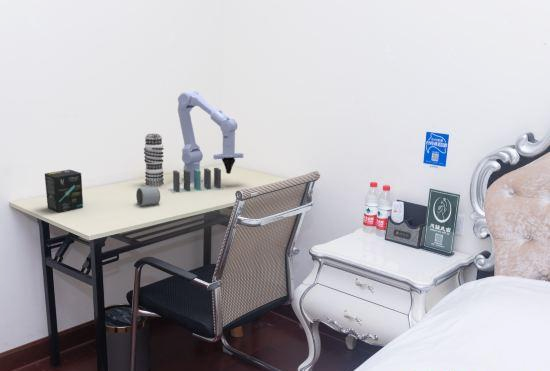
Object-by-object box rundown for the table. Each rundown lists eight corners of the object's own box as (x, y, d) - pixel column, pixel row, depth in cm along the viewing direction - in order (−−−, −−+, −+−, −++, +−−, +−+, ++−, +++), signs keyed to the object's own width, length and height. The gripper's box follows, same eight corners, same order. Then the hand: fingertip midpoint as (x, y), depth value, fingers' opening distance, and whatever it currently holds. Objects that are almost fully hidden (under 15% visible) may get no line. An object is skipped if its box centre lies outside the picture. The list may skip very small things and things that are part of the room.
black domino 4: (217, 188, 248) (217, 170, 246) (214, 186, 253) (214, 167, 250) (220, 188, 249) (220, 169, 247) (217, 185, 253) (217, 167, 251)
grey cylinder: (161, 205, 219) (161, 187, 218) (143, 208, 215) (142, 189, 213) (151, 199, 228) (150, 182, 226) (133, 202, 223) (132, 184, 221)
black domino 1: (176, 192, 240) (176, 172, 237) (173, 189, 244) (173, 170, 242) (179, 191, 240) (179, 172, 238) (176, 189, 245) (176, 170, 242)
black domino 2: (186, 191, 242) (186, 172, 240) (183, 188, 246) (183, 169, 244) (190, 190, 242) (190, 171, 240) (187, 188, 247) (186, 169, 245)
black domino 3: (207, 189, 246) (207, 170, 244) (204, 186, 250) (204, 168, 248) (210, 189, 247) (210, 170, 245) (207, 186, 251) (207, 168, 249)
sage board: (167, 189, 244) (167, 189, 244) (220, 185, 256) (220, 184, 256) (172, 194, 237) (172, 193, 237) (226, 189, 249) (226, 188, 249)
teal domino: (197, 190, 244) (197, 171, 242) (194, 187, 248) (193, 169, 246) (200, 189, 245) (200, 171, 242) (197, 187, 249) (197, 169, 247)
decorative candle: (166, 184, 255) (166, 133, 249) (161, 189, 246) (159, 136, 240) (148, 183, 255) (147, 132, 249) (142, 187, 246) (140, 135, 240)
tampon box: (71, 203, 218) (69, 168, 215) (84, 207, 213) (82, 172, 209) (46, 208, 210) (43, 172, 207) (58, 213, 204) (55, 176, 201)
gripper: (217, 147, 242) (217, 176, 245) (246, 145, 248) (245, 173, 251) (212, 144, 248) (211, 172, 251) (240, 143, 254) (239, 170, 258)
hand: (228, 173), depth 252 cm, fingers closed
